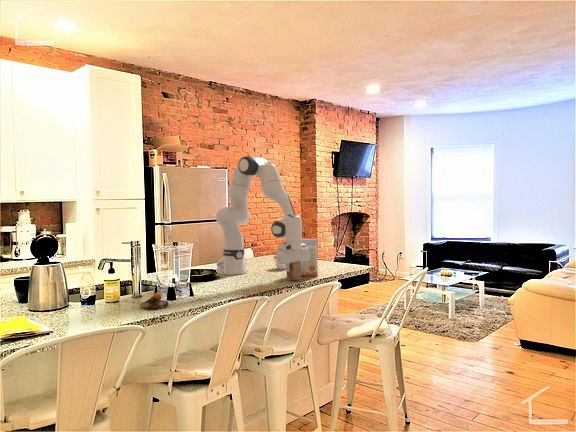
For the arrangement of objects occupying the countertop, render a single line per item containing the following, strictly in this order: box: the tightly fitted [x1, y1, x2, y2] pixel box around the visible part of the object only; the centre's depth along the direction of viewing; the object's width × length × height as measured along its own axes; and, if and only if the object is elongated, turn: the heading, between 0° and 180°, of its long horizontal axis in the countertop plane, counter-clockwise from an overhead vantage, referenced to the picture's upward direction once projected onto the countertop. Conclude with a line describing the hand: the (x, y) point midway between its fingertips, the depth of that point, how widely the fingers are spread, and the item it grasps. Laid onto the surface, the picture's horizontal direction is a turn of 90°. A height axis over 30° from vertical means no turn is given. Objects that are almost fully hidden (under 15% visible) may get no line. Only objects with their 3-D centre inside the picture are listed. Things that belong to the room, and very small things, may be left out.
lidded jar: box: [273, 254, 287, 270], centre depth 290 cm, size 11×11×9 cm
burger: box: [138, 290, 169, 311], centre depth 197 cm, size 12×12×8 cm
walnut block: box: [286, 262, 302, 281], centre depth 250 cm, size 6×5×9 cm
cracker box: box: [301, 238, 319, 277], centre depth 265 cm, size 14×6×21 cm, turn 84°
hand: (293, 270), depth 250 cm, fingers closed on walnut block, 5 cm apart
